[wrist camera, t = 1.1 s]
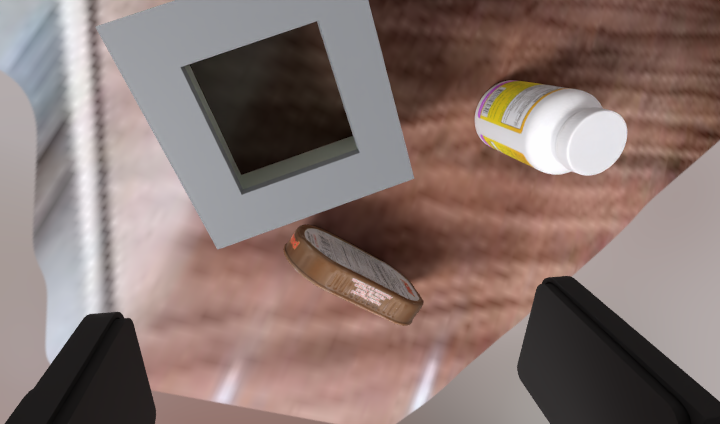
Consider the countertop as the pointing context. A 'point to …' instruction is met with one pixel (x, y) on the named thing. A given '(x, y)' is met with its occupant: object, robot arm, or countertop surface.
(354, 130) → the post box
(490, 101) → the supplement bottle
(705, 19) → the countertop surface
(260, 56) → the countertop surface
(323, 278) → the tin
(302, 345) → the countertop surface
